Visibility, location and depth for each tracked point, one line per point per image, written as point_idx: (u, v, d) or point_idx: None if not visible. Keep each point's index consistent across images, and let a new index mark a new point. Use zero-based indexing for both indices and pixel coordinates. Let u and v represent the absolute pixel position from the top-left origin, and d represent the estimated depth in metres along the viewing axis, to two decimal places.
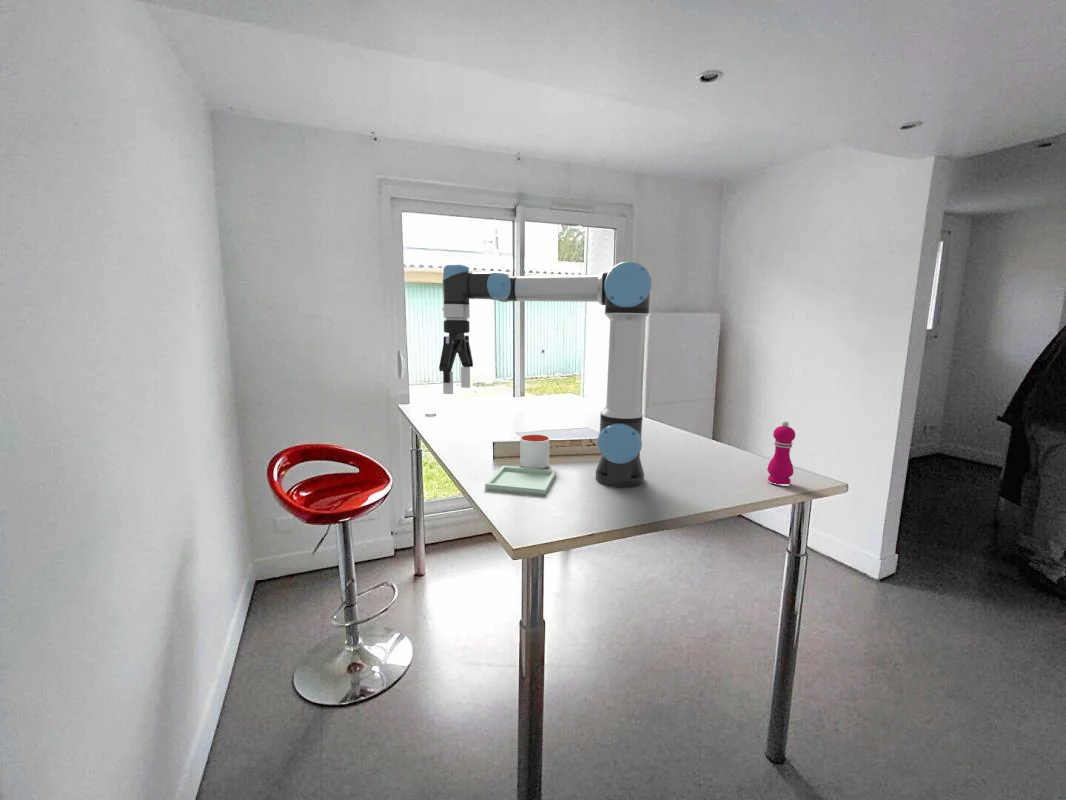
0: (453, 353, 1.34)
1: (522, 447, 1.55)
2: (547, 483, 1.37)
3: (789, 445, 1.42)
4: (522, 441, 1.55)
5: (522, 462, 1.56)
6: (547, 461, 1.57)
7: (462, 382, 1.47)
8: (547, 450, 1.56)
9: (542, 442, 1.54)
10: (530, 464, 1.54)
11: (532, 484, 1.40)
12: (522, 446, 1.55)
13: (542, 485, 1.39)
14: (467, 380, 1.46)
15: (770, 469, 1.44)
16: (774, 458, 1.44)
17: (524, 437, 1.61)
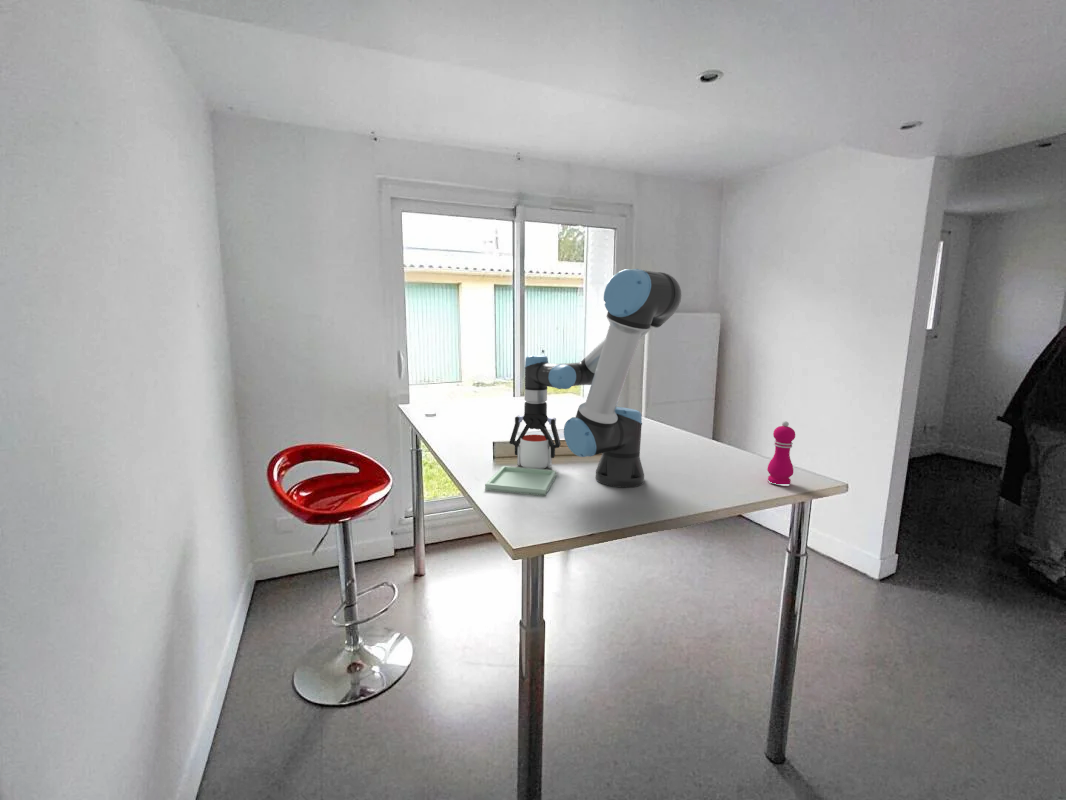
0: (522, 431, 1.57)
1: (522, 447, 1.55)
2: (547, 483, 1.37)
3: (789, 445, 1.42)
4: (522, 441, 1.55)
5: (522, 462, 1.56)
6: (547, 461, 1.57)
7: None
8: (547, 450, 1.56)
9: (542, 442, 1.54)
10: (530, 464, 1.54)
11: (532, 484, 1.40)
12: (522, 446, 1.55)
13: (542, 485, 1.39)
14: None
15: (770, 469, 1.44)
16: (774, 458, 1.44)
17: (524, 437, 1.61)
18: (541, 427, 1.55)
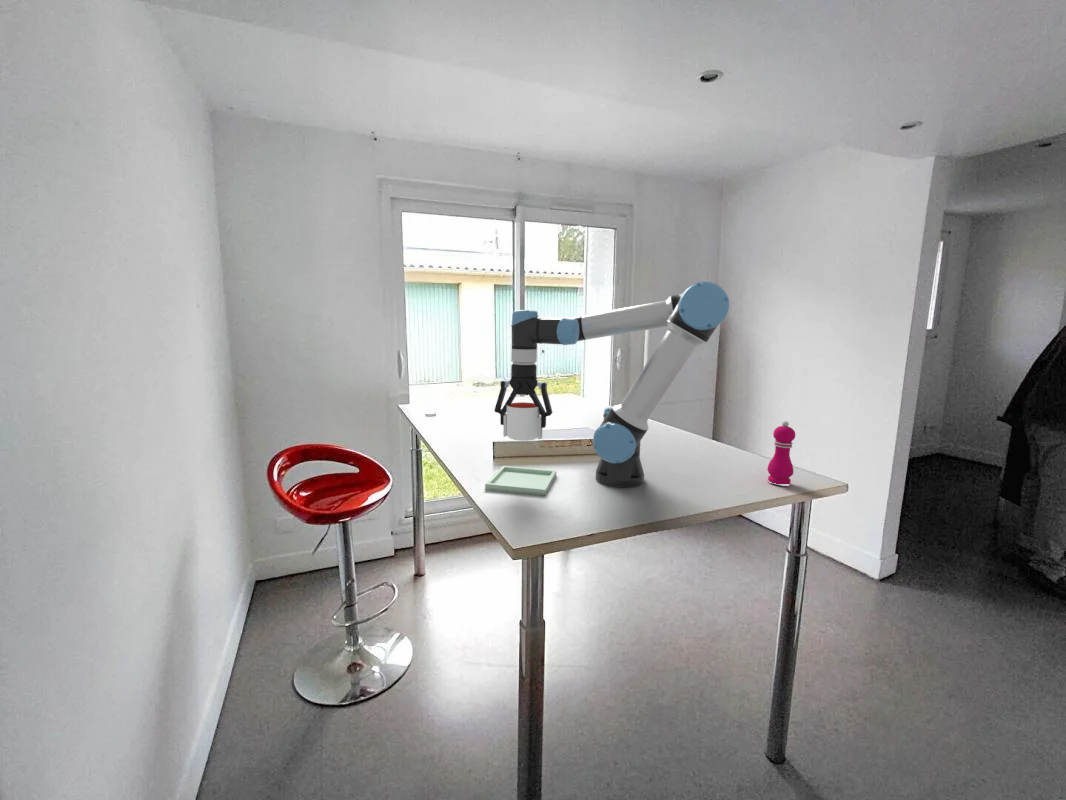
0: (509, 397, 1.39)
1: (508, 415, 1.37)
2: (547, 483, 1.37)
3: (789, 445, 1.42)
4: (508, 408, 1.36)
5: (508, 432, 1.38)
6: (537, 431, 1.38)
7: None
8: (537, 418, 1.37)
9: (531, 409, 1.35)
10: (517, 434, 1.36)
11: (532, 484, 1.40)
12: (508, 414, 1.37)
13: (542, 485, 1.39)
14: None
15: (770, 469, 1.44)
16: (774, 458, 1.44)
17: (511, 405, 1.42)
18: (530, 392, 1.36)
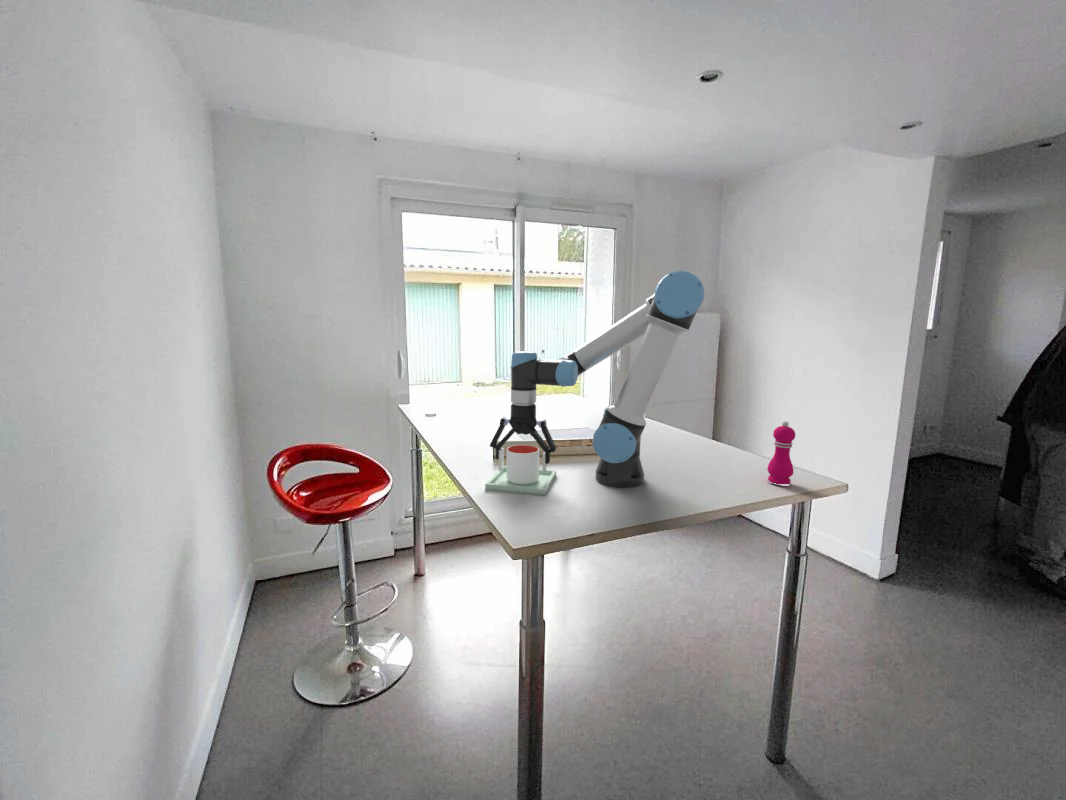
0: None
1: (508, 459, 1.39)
2: (547, 483, 1.37)
3: (789, 445, 1.42)
4: (508, 453, 1.39)
5: (508, 476, 1.40)
6: (536, 475, 1.40)
7: None
8: (536, 463, 1.39)
9: (531, 454, 1.37)
10: (517, 479, 1.38)
11: (532, 484, 1.40)
12: (508, 458, 1.39)
13: (542, 485, 1.39)
14: None
15: (770, 469, 1.44)
16: (774, 458, 1.44)
17: (511, 448, 1.44)
18: (530, 431, 1.38)
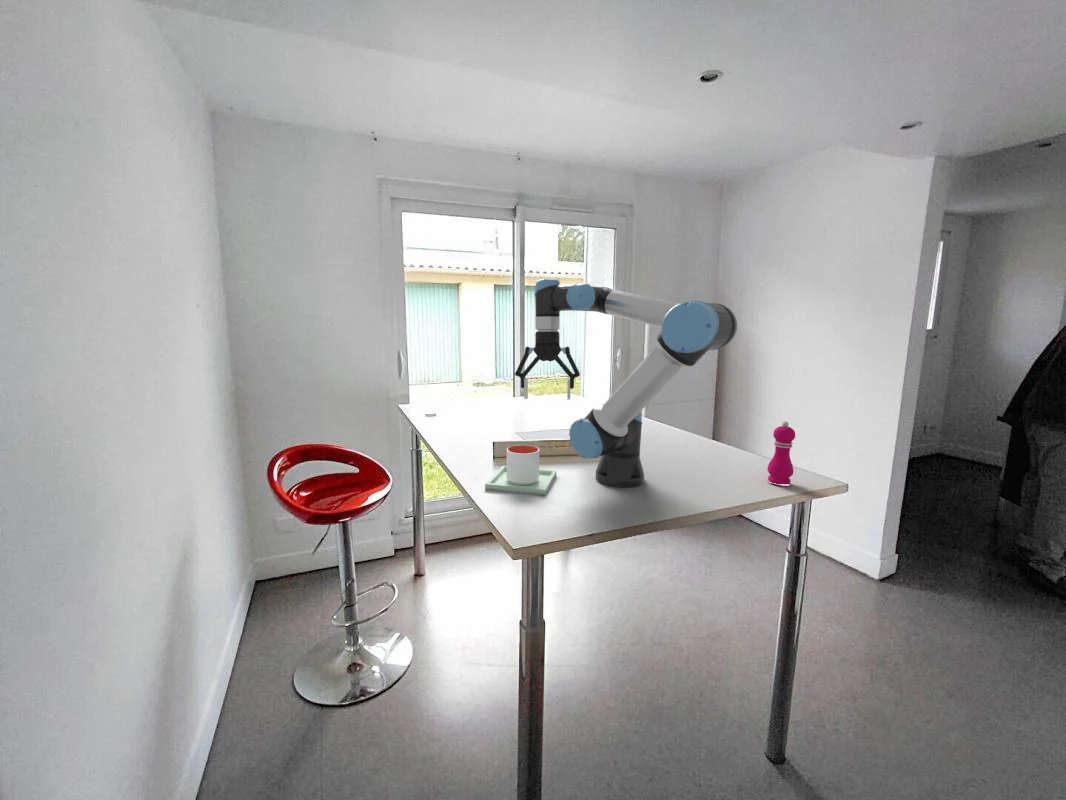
0: None
1: (508, 459, 1.39)
2: (547, 483, 1.37)
3: (789, 445, 1.42)
4: (508, 453, 1.39)
5: (508, 476, 1.40)
6: (536, 475, 1.40)
7: None
8: (536, 463, 1.39)
9: (531, 454, 1.37)
10: (517, 479, 1.38)
11: (532, 484, 1.40)
12: (508, 458, 1.39)
13: (542, 485, 1.39)
14: None
15: (770, 469, 1.44)
16: (774, 458, 1.44)
17: (511, 448, 1.44)
18: (555, 357, 1.43)
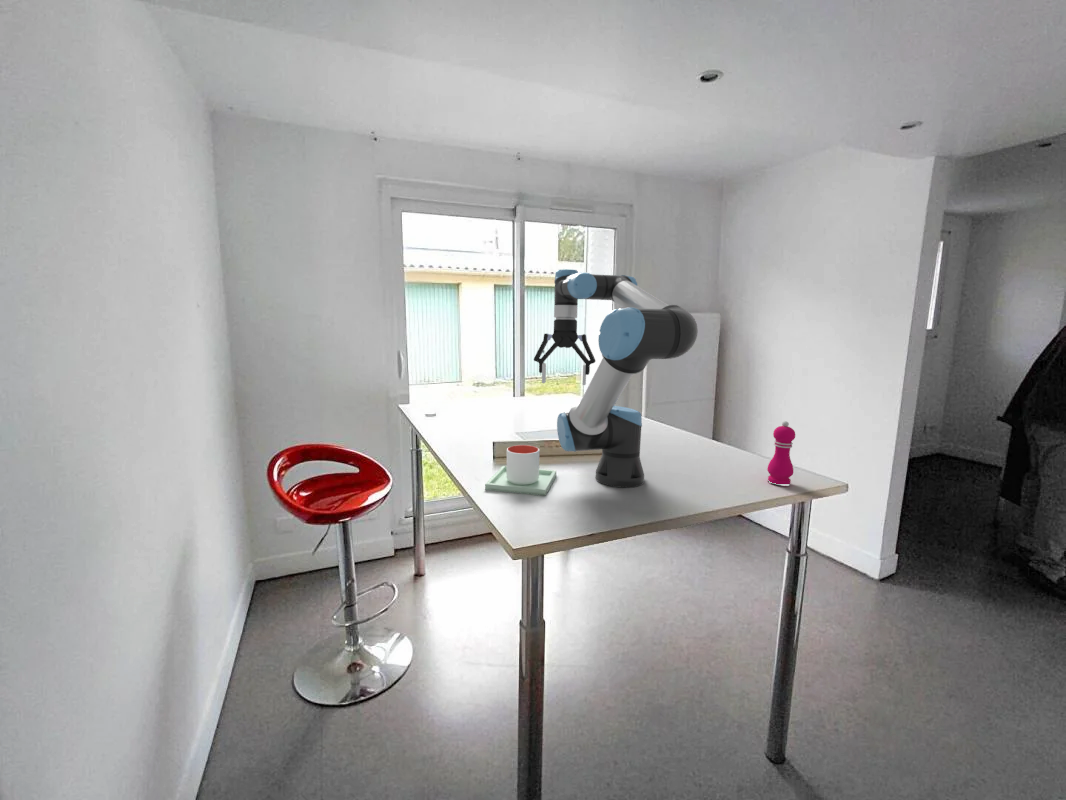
0: None
1: (508, 459, 1.39)
2: (547, 483, 1.37)
3: (789, 445, 1.42)
4: (508, 453, 1.39)
5: (508, 476, 1.40)
6: (536, 475, 1.40)
7: None
8: (536, 463, 1.39)
9: (531, 454, 1.37)
10: (517, 479, 1.38)
11: (532, 484, 1.40)
12: (508, 458, 1.39)
13: (542, 485, 1.39)
14: None
15: (770, 469, 1.44)
16: (774, 458, 1.44)
17: (511, 448, 1.44)
18: (572, 344, 1.50)
